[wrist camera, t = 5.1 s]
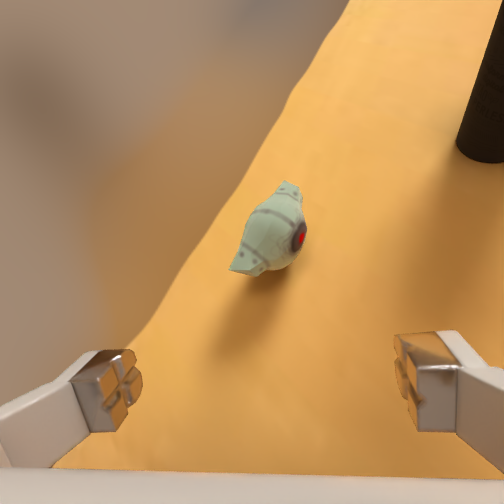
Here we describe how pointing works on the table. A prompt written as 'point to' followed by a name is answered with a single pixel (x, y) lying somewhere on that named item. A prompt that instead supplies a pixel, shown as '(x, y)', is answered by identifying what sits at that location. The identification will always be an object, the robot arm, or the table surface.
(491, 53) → the drinking cup
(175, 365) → the table surface
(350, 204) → the table surface
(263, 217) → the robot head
